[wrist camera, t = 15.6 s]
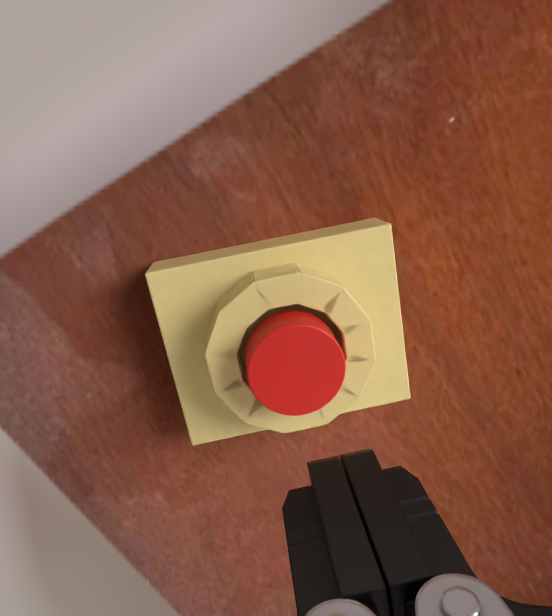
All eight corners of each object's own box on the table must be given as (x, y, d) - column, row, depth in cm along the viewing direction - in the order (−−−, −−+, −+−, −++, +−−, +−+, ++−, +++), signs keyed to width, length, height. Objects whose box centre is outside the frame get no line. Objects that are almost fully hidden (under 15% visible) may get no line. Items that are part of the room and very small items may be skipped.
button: (255, 403, 20) (257, 425, 18) (236, 320, 18) (237, 336, 17) (341, 384, 20) (352, 405, 18) (329, 301, 19) (338, 314, 17)
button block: (195, 421, 24) (188, 471, 20) (152, 262, 21) (135, 284, 17) (395, 378, 24) (426, 419, 20) (375, 217, 21) (407, 229, 18)
